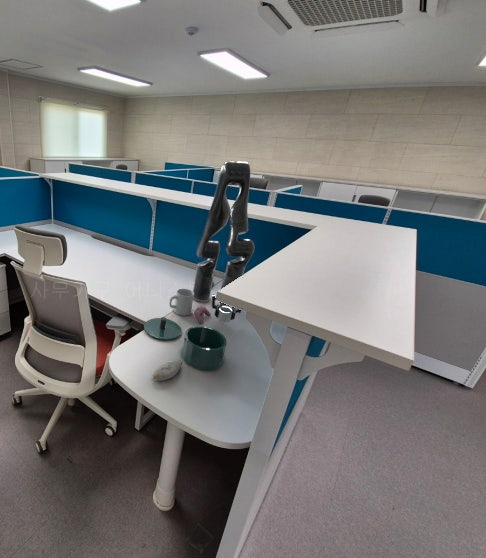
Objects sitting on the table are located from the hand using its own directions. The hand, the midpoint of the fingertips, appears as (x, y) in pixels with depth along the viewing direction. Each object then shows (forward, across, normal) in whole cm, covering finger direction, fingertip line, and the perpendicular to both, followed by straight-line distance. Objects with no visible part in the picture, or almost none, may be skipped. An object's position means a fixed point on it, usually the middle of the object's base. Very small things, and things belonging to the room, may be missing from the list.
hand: (223, 317), depth 135 cm
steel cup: (+1, 0, 0) cm, 1 cm away
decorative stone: (+7, +20, +35) cm, 41 cm away
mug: (+8, +20, -12) cm, 24 cm away
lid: (+7, +26, +8) cm, 28 cm away
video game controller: (+8, +9, -9) cm, 15 cm away
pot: (+7, +8, +21) cm, 24 cm away
